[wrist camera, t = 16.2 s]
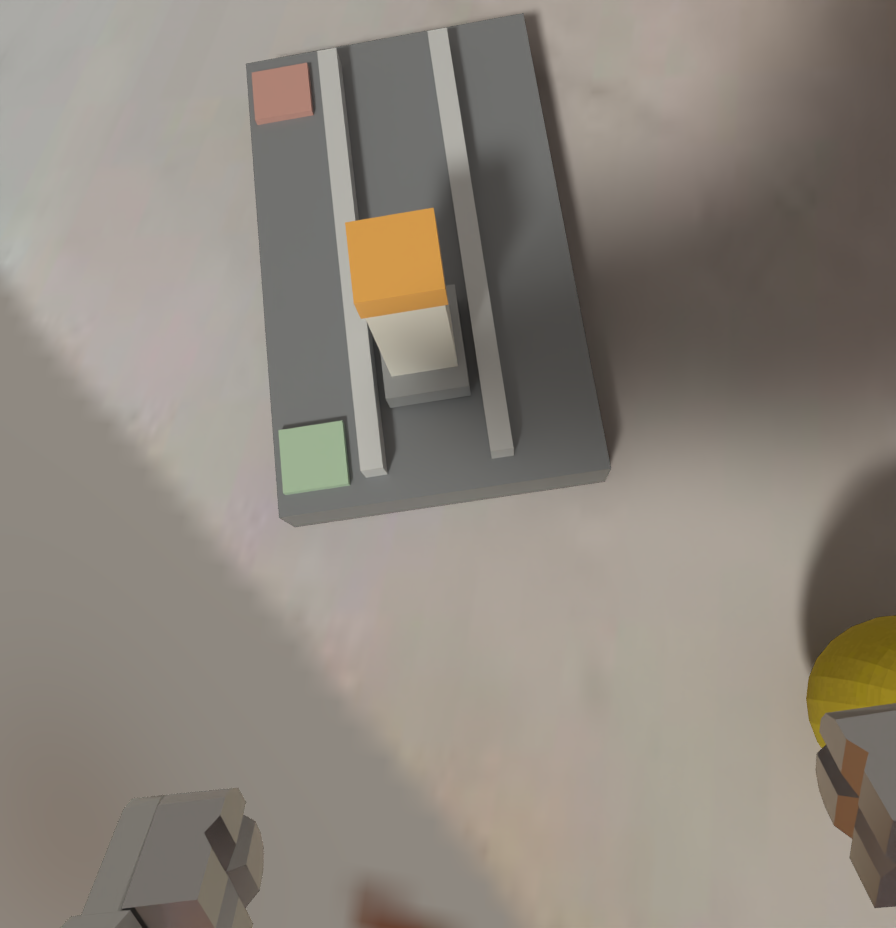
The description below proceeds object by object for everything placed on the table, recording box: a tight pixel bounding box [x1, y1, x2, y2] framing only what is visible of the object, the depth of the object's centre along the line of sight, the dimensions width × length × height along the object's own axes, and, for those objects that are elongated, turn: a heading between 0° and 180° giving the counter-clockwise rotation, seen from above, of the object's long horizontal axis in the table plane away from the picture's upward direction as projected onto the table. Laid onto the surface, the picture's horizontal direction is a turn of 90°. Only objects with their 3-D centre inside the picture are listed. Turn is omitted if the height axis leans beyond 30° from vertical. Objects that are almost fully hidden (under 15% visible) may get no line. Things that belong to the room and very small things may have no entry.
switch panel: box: [246, 13, 611, 527], centre depth 30 cm, size 20×12×3 cm, turn 8°
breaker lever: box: [345, 208, 471, 408], centre depth 25 cm, size 4×3×7 cm
